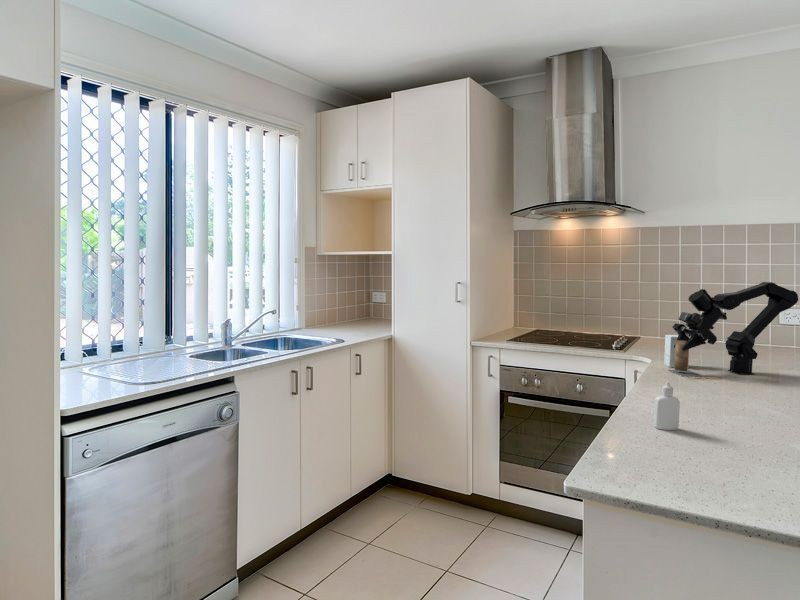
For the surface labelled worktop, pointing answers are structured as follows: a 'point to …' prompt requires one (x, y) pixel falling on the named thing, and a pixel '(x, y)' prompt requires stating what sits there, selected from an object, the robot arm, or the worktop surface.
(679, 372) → the mat
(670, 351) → the supplement box
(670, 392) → the eye dropper bottle
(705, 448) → the worktop surface
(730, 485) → the worktop surface
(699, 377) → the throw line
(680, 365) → the pin
